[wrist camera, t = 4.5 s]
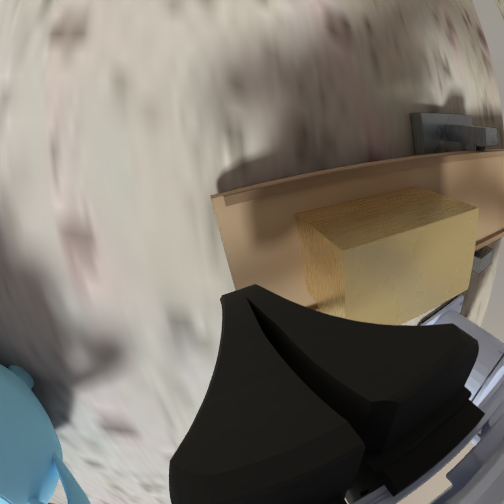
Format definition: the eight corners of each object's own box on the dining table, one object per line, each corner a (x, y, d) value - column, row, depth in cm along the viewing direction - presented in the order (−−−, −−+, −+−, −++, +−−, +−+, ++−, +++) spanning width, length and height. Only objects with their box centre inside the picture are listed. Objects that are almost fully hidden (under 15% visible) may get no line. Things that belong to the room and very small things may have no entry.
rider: (415, 253, 14) (467, 288, 10) (306, 290, 14) (346, 347, 10) (414, 186, 13) (478, 207, 9) (295, 213, 12) (342, 250, 8)
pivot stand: (464, 243, 21) (501, 260, 17) (415, 273, 19) (458, 298, 15) (462, 115, 16) (506, 118, 12) (409, 113, 14) (466, 113, 10)
